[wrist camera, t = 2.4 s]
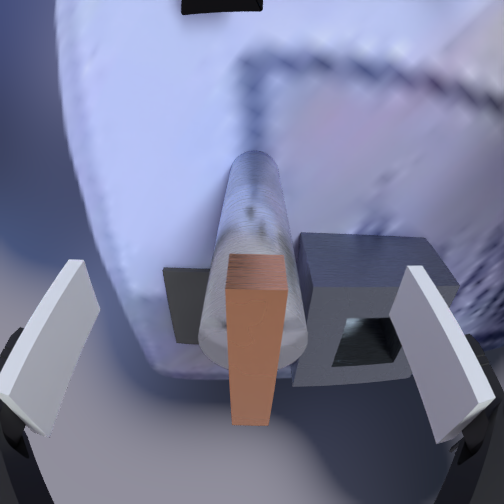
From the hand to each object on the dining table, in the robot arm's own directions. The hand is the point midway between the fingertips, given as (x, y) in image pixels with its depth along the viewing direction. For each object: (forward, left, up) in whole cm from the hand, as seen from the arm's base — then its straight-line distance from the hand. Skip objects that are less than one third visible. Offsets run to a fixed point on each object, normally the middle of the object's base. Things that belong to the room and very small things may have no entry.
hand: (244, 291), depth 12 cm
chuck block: (-10, +11, -13) cm, 20 cm away
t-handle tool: (0, 0, -13) cm, 13 cm away
